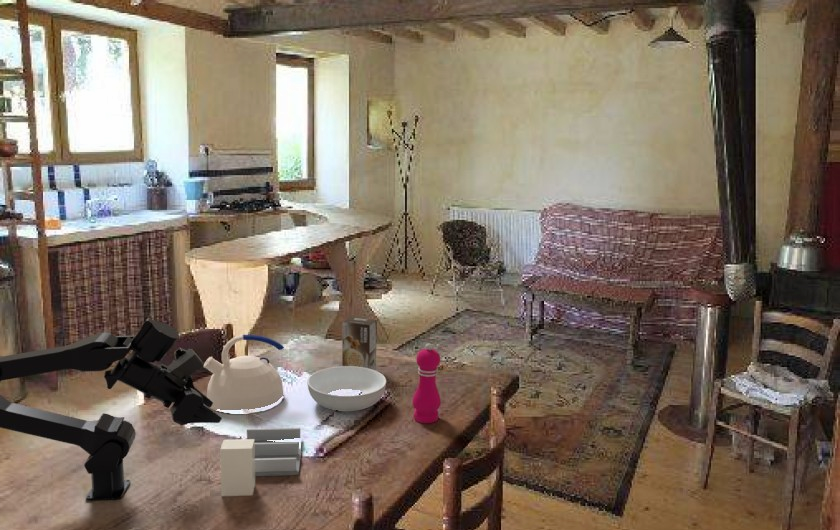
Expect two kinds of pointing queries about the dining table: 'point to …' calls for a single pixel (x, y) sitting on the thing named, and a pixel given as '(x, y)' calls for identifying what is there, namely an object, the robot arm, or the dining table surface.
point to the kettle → (243, 379)
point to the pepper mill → (427, 386)
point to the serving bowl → (346, 387)
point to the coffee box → (359, 342)
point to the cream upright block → (237, 467)
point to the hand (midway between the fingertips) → (216, 412)
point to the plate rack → (276, 451)
